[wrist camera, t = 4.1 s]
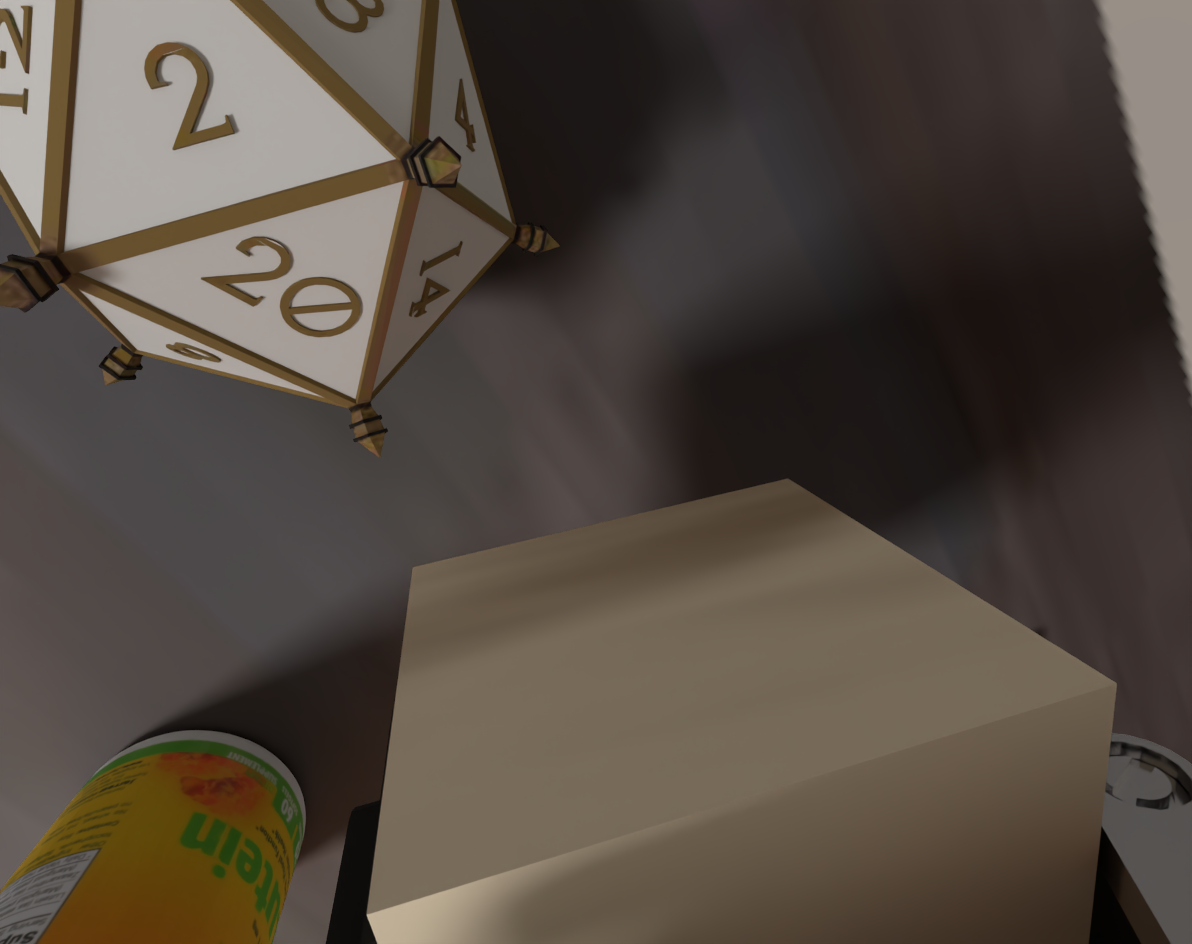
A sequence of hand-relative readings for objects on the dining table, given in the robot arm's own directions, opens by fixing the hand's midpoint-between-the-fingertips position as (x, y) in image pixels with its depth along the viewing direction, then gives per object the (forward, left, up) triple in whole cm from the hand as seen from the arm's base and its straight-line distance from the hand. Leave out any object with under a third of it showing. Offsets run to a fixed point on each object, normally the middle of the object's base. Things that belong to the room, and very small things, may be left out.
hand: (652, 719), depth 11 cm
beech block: (0, 0, -1) cm, 1 cm away
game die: (-10, -4, -7) cm, 13 cm away
